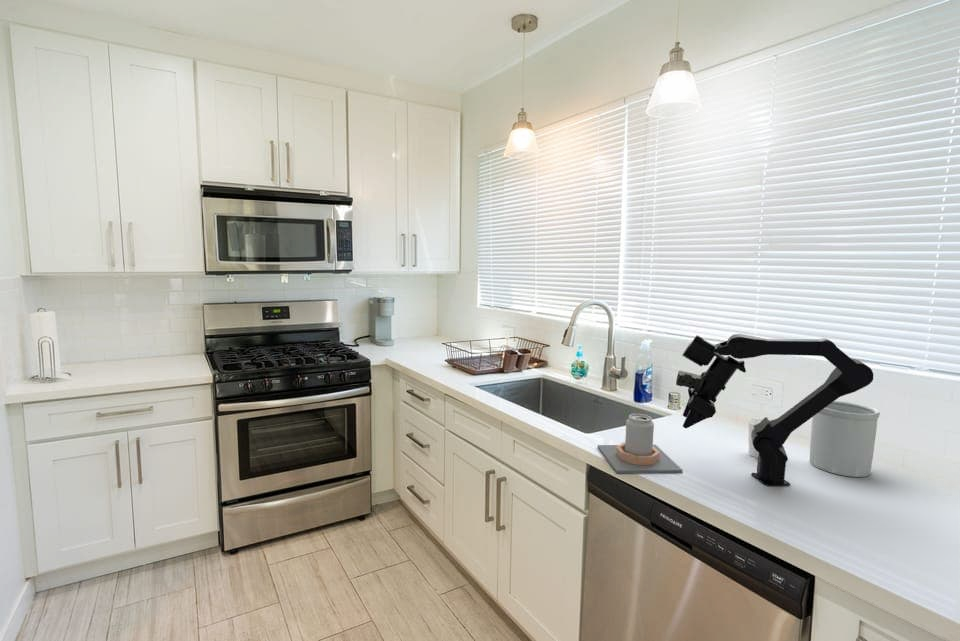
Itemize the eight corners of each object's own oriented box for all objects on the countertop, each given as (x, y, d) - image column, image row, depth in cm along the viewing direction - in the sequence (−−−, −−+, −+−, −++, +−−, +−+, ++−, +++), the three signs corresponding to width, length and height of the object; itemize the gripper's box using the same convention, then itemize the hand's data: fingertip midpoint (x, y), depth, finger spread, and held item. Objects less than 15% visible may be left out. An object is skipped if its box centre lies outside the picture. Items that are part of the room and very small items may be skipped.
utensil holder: (805, 452, 144) (810, 395, 142) (867, 463, 137) (874, 403, 135) (808, 470, 132) (814, 408, 130) (877, 483, 124) (885, 417, 122)
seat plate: (682, 472, 129) (683, 462, 129) (616, 473, 129) (617, 462, 128) (655, 447, 147) (656, 437, 147) (597, 447, 146) (597, 438, 146)
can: (657, 459, 136) (660, 418, 135) (638, 464, 133) (640, 422, 131) (637, 450, 143) (639, 410, 141) (619, 454, 139) (620, 414, 138)
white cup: (746, 457, 140) (749, 424, 139) (746, 448, 147) (748, 417, 145) (778, 463, 136) (781, 429, 135) (776, 453, 143) (779, 421, 142)
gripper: (688, 353, 139) (659, 396, 144) (689, 367, 122) (655, 416, 127) (725, 374, 136) (693, 417, 141) (731, 392, 119) (695, 440, 124)
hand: (684, 421), depth 133 cm, fingers open, 9 cm apart
